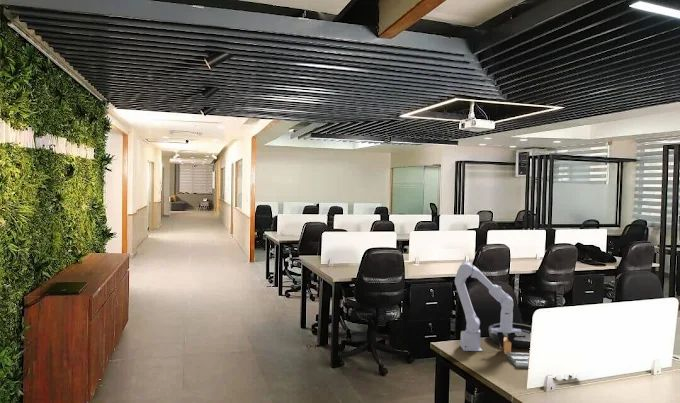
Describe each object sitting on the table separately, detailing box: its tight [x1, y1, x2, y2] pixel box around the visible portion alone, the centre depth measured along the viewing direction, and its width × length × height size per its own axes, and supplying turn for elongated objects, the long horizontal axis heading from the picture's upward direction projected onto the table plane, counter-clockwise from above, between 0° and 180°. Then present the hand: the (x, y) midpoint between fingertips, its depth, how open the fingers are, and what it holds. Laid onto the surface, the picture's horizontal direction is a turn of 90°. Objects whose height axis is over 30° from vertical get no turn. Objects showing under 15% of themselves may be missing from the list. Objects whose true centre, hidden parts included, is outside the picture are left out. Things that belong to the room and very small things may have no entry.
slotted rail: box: [506, 351, 530, 369], centre depth 218 cm, size 10×13×2 cm
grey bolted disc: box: [488, 322, 532, 351], centre depth 248 cm, size 30×6×30 cm
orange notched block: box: [499, 337, 512, 354], centre depth 230 cm, size 3×8×5 cm, turn 179°
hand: (505, 347), depth 230 cm, fingers closed on orange notched block, 3 cm apart
